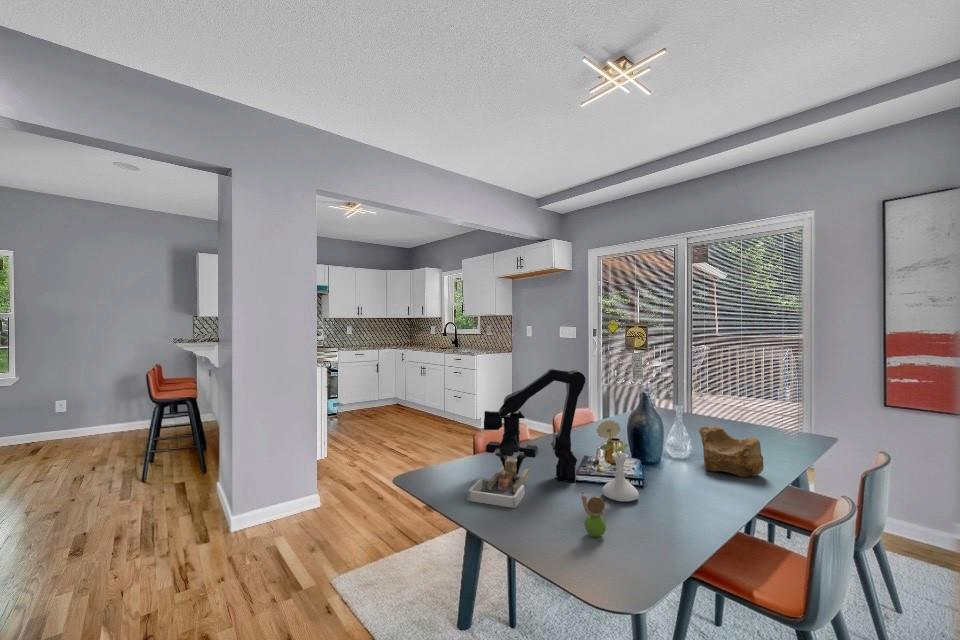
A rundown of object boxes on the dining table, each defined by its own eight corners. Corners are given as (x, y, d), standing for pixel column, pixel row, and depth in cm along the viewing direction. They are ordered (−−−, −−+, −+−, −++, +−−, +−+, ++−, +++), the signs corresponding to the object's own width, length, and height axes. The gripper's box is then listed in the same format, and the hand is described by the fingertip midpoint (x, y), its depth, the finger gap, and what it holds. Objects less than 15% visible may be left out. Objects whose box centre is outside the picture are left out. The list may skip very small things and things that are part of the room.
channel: (529, 474, 156) (529, 469, 156) (516, 493, 139) (516, 487, 139) (502, 471, 159) (502, 466, 159) (487, 488, 143) (487, 483, 143)
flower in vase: (638, 493, 138) (637, 417, 139) (639, 507, 128) (638, 425, 128) (597, 488, 143) (597, 415, 143) (595, 501, 132) (595, 422, 132)
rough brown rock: (682, 467, 166) (680, 430, 165) (707, 456, 173) (706, 422, 173) (742, 489, 145) (741, 447, 144) (767, 476, 153) (766, 437, 152)
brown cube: (512, 483, 148) (512, 475, 148) (510, 486, 145) (510, 477, 145) (504, 482, 149) (504, 474, 149) (501, 485, 146) (501, 476, 146)
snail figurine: (578, 531, 113) (578, 487, 113) (601, 530, 114) (601, 486, 114) (585, 541, 108) (584, 495, 108) (609, 540, 108) (608, 494, 108)
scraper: (522, 476, 153) (522, 459, 153) (519, 480, 149) (519, 463, 149) (504, 473, 155) (504, 457, 155) (500, 478, 151) (500, 461, 151)
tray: (524, 494, 138) (524, 485, 138) (515, 508, 128) (515, 498, 128) (479, 487, 144) (479, 479, 144) (467, 500, 133) (467, 491, 133)
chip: (509, 487, 144) (509, 478, 144) (506, 490, 141) (506, 482, 141) (500, 486, 145) (500, 477, 145) (498, 489, 142) (498, 480, 142)
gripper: (480, 433, 148) (480, 477, 148) (531, 438, 142) (531, 483, 142) (490, 425, 159) (490, 466, 159) (538, 430, 152) (538, 472, 152)
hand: (511, 472), depth 152 cm, fingers closed on scraper, 4 cm apart
